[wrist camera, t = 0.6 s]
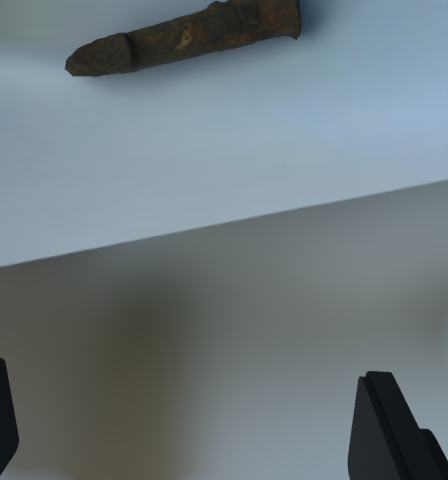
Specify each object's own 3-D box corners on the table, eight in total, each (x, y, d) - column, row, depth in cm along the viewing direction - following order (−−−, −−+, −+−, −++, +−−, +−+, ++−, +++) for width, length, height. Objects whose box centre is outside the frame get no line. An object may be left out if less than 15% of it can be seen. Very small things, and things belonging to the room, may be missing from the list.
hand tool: (293, -15, 34) (299, -32, 29) (300, 40, 35) (306, 31, 30) (67, 36, 36) (41, 27, 32) (81, 86, 37) (57, 84, 33)
